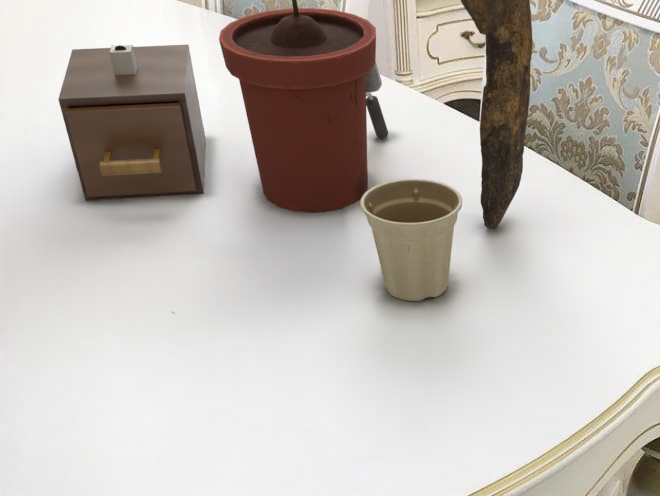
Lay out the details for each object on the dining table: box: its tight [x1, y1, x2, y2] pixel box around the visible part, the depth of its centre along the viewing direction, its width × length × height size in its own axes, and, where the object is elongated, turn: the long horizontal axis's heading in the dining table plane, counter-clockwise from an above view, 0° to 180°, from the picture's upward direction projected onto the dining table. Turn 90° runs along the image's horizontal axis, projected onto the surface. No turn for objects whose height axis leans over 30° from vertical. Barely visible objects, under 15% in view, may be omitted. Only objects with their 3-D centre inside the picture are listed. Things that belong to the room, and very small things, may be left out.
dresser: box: [57, 44, 207, 202], centre depth 122 cm, size 15×13×11 cm
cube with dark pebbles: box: [110, 44, 137, 75], centre depth 117 cm, size 2×2×2 cm
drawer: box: [66, 101, 197, 197], centre depth 119 cm, size 18×11×9 cm, turn 10°
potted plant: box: [218, 0, 389, 213], centre depth 116 cm, size 18×22×25 cm
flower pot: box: [359, 178, 463, 302], centre depth 105 cm, size 9×9×9 cm
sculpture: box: [460, 0, 533, 230], centre depth 106 cm, size 7×7×30 cm
